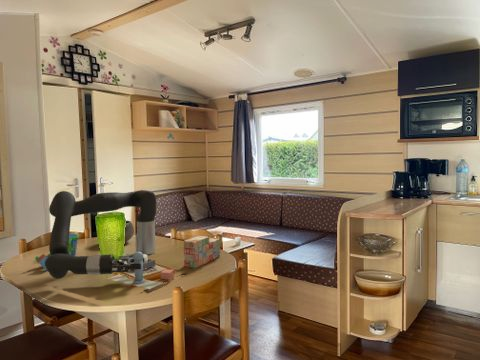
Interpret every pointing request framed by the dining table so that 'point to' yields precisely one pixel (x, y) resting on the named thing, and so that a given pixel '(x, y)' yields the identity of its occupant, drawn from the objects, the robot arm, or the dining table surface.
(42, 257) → the building blocks
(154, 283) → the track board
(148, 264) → the popper housing
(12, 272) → the dining table surface
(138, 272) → the pawn
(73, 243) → the snack cup
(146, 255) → the white rounded block
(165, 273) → the die
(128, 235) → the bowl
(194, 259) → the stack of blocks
